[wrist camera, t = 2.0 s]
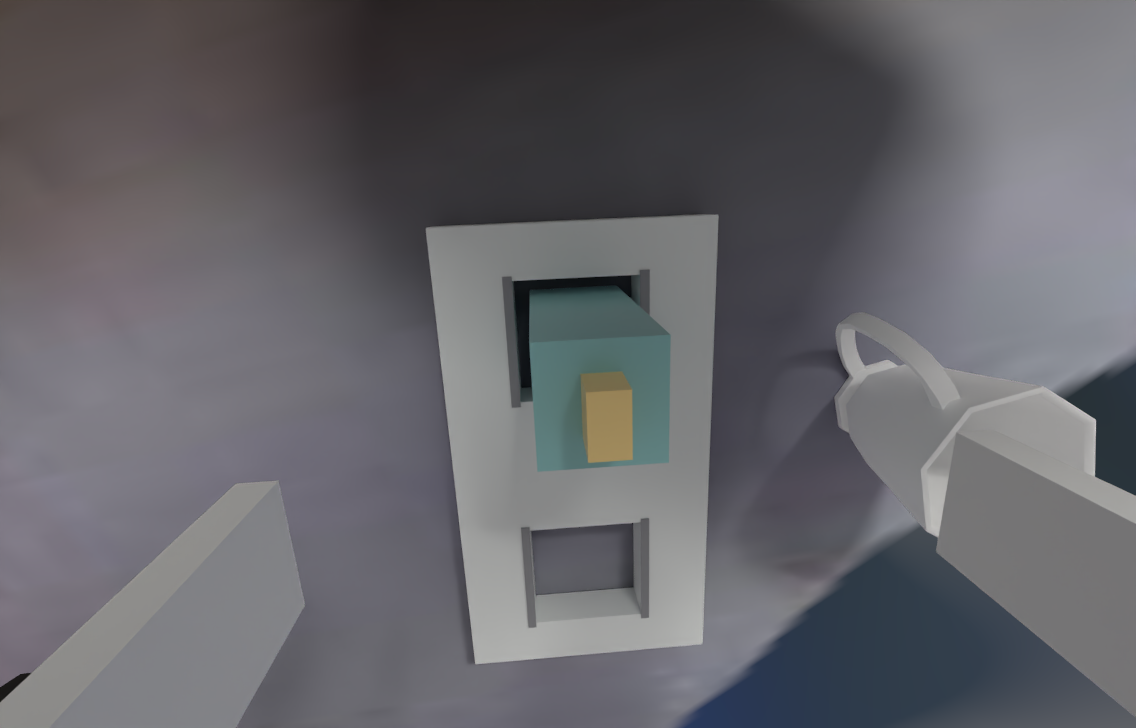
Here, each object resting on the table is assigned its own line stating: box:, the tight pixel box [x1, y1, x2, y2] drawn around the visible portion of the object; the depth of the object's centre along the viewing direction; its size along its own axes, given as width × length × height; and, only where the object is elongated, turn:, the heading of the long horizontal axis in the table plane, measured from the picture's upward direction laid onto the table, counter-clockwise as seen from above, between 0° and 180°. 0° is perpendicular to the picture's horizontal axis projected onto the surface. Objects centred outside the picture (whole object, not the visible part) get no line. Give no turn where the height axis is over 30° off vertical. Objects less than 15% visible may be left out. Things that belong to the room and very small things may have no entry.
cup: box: [834, 312, 1096, 537], centre depth 23 cm, size 7×10×8 cm
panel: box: [426, 214, 719, 664], centre depth 26 cm, size 22×12×2 cm, turn 2°
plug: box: [529, 285, 671, 472], centre depth 20 cm, size 4×4×12 cm
